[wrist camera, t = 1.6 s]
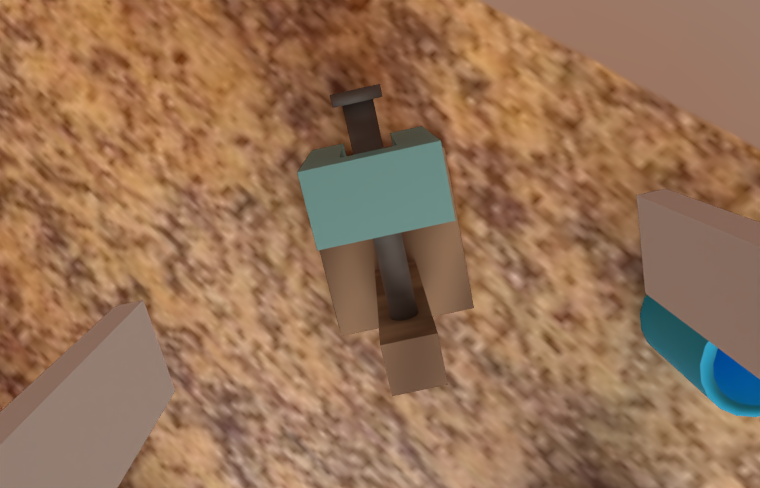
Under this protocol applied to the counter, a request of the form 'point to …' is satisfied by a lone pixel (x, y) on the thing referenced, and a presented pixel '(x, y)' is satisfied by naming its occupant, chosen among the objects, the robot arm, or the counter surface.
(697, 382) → the mug
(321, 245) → the c link
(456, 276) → the stand
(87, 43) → the counter surface
